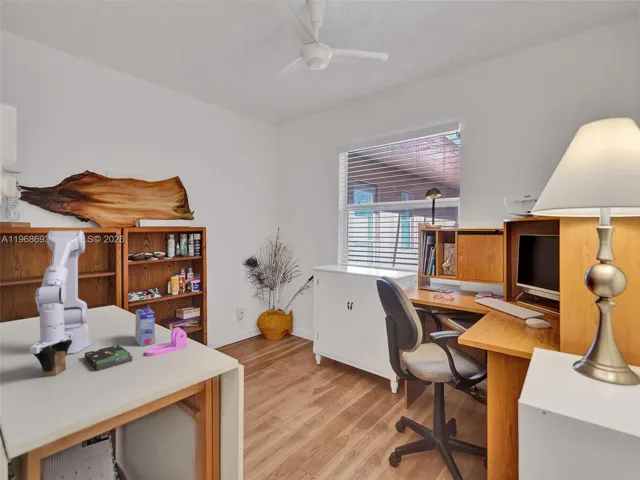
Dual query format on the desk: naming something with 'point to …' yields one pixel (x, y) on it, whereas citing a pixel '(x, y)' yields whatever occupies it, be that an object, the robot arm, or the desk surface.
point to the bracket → (176, 343)
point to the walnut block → (57, 364)
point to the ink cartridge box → (145, 326)
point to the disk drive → (108, 357)
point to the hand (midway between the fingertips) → (53, 367)
